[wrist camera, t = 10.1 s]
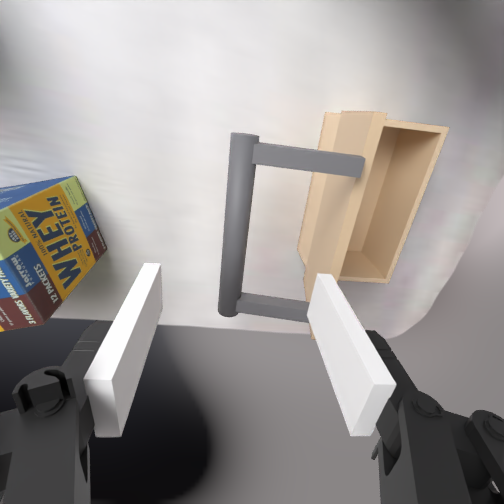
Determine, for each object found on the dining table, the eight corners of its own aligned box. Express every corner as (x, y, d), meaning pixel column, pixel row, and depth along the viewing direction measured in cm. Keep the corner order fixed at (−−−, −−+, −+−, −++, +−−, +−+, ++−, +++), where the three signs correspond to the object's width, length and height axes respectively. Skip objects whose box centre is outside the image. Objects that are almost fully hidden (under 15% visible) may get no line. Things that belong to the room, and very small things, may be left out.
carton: (325, 112, 34) (350, 114, 27) (404, 122, 35) (449, 127, 28) (297, 248, 42) (311, 278, 35) (362, 253, 43) (388, 283, 36)
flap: (350, 111, 26) (250, 99, 27) (394, 113, 16) (231, 92, 16) (309, 280, 35) (233, 269, 35) (322, 351, 24) (214, 335, 25)
